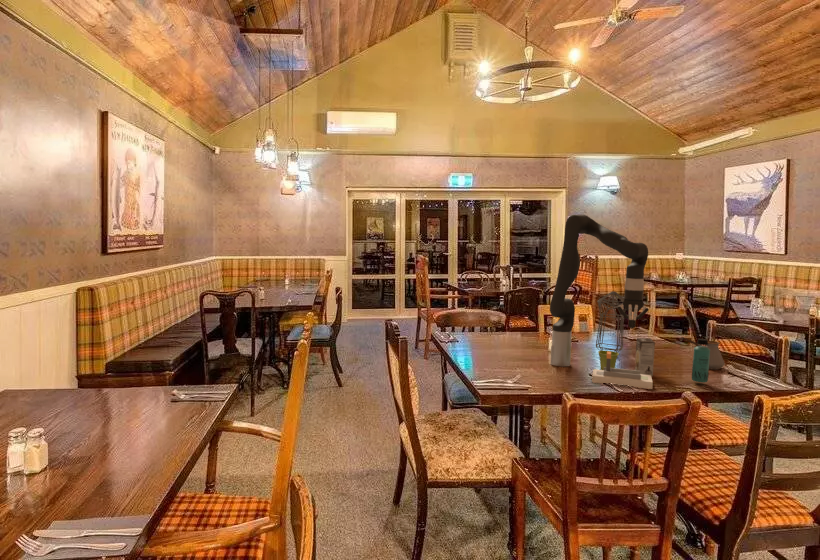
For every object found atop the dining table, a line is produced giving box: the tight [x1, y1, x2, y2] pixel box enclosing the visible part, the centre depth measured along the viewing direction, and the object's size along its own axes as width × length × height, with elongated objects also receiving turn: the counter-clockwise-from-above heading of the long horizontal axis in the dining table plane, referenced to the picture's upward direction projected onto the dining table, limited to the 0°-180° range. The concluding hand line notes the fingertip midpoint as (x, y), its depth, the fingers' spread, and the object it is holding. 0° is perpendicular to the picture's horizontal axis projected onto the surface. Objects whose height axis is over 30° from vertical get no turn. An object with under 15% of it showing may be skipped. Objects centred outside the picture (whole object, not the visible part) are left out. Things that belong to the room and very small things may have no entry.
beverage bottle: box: [691, 338, 710, 383], centre depth 223 cm, size 6×7×20 cm
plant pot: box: [597, 350, 620, 370], centre depth 244 cm, size 9×9×9 cm
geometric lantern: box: [595, 291, 627, 353], centre depth 276 cm, size 16×16×35 cm
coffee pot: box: [679, 336, 726, 370], centre depth 253 cm, size 21×12×15 cm, turn 87°
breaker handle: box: [605, 350, 612, 372], centre depth 226 cm, size 3×6×9 cm, turn 158°
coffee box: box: [634, 337, 656, 377], centre depth 240 cm, size 9×6×16 cm
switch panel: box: [591, 367, 653, 390], centre depth 224 cm, size 24×12×5 cm, turn 68°
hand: (631, 328), depth 221 cm, fingers closed
